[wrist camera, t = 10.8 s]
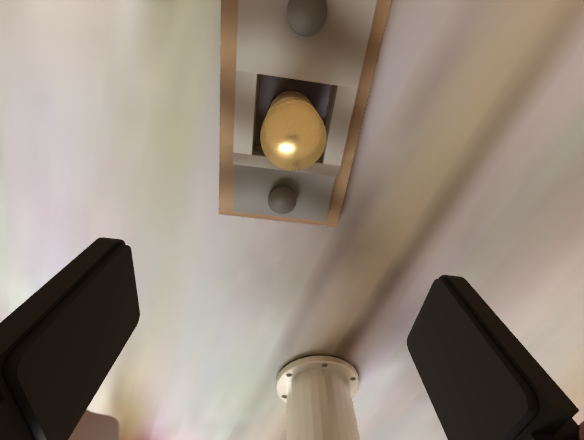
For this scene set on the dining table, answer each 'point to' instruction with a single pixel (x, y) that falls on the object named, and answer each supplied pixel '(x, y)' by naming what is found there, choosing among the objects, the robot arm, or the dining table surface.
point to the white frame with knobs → (302, 66)
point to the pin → (292, 132)
